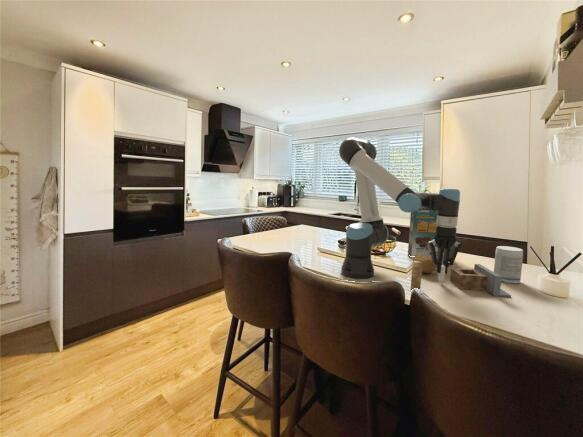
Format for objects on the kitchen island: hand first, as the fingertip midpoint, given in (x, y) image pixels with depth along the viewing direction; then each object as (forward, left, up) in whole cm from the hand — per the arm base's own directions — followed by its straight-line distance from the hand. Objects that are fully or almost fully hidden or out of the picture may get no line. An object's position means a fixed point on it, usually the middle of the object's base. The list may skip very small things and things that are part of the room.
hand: (440, 280), depth 117 cm
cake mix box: (+9, +42, -2) cm, 43 cm away
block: (+10, 0, -2) cm, 11 cm away
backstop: (+18, -2, -2) cm, 19 cm away
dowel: (-13, -10, -2) cm, 17 cm away
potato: (-2, +16, -2) cm, 16 cm away
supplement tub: (+31, +10, -2) cm, 32 cm away
